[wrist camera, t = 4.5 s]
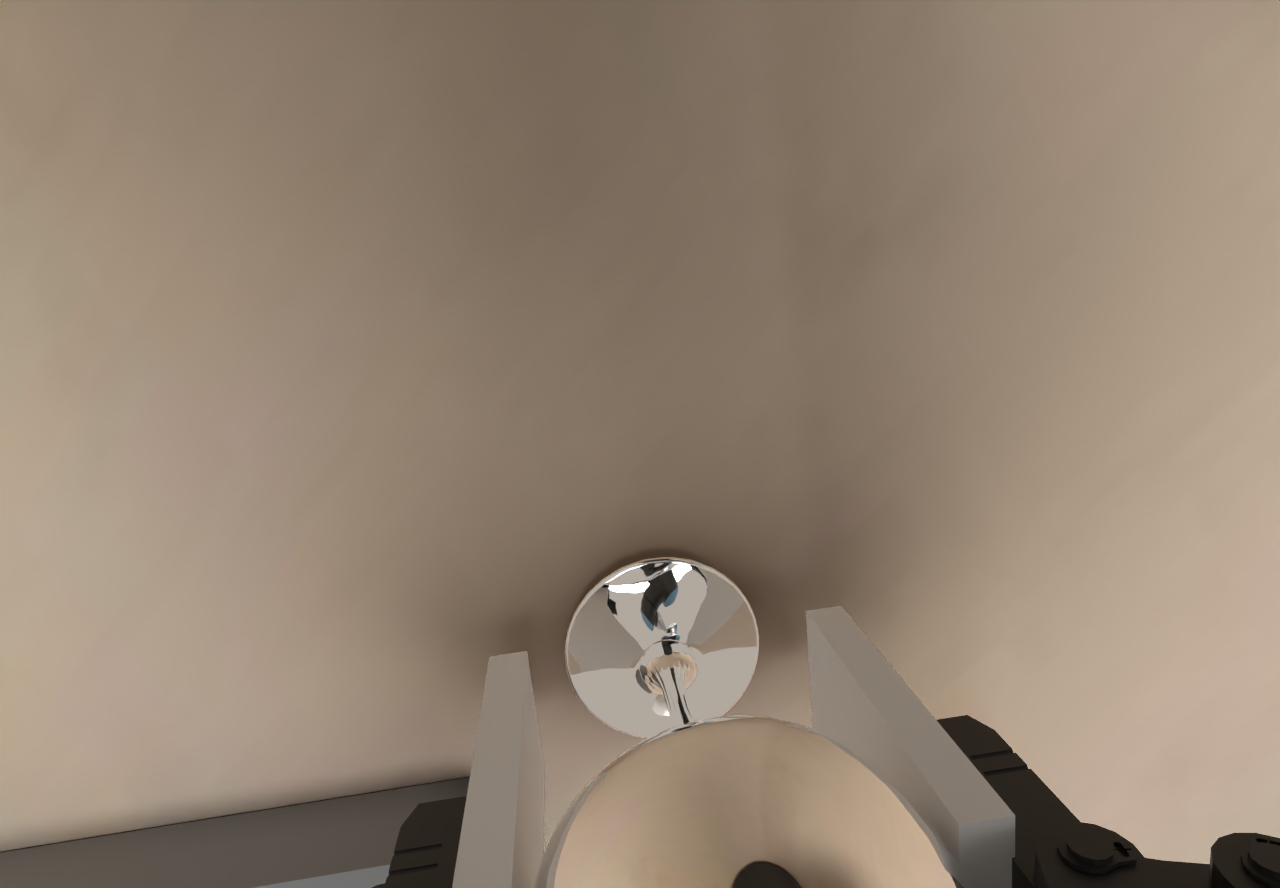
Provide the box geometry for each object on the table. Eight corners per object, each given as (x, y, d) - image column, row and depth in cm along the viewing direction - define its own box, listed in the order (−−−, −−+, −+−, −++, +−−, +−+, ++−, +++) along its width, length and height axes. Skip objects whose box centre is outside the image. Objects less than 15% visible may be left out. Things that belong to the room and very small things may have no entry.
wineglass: (488, 697, 18) (374, 1457, 7) (618, 482, 18) (743, 922, 6) (703, 798, 20) (922, 1597, 8) (833, 600, 19) (1294, 1165, 7)
